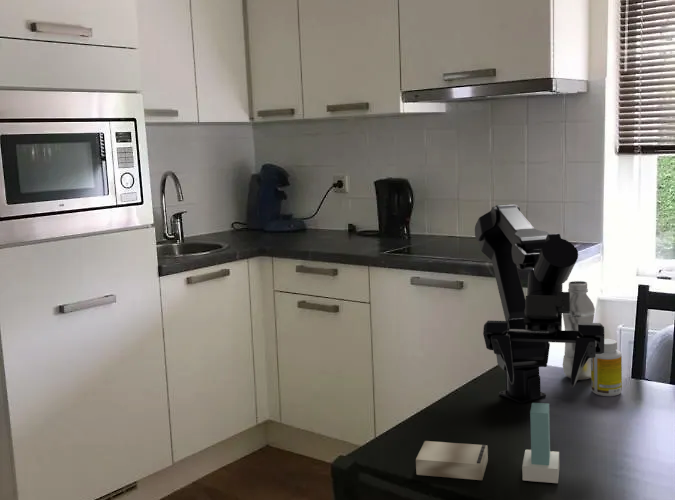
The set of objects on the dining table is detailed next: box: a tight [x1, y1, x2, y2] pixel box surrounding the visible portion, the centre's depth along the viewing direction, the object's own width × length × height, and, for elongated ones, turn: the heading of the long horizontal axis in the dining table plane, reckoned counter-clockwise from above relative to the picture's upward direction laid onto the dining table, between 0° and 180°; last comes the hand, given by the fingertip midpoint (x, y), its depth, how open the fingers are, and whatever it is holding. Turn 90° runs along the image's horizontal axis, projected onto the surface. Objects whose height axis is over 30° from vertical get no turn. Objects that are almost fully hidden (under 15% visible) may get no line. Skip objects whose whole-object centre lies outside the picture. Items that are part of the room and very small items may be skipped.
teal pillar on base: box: [521, 402, 560, 484], centre depth 111 cm, size 5×6×10 cm
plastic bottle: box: [562, 280, 596, 381], centre depth 151 cm, size 6×7×20 cm
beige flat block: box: [415, 440, 489, 481], centre depth 116 cm, size 10×7×3 cm
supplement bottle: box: [590, 338, 623, 397], centre depth 143 cm, size 6×6×10 cm
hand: (541, 384), depth 117 cm, fingers open, 9 cm apart
